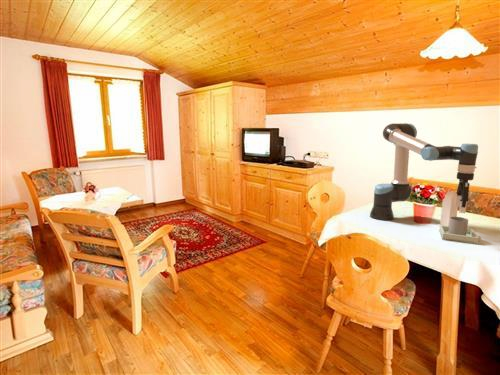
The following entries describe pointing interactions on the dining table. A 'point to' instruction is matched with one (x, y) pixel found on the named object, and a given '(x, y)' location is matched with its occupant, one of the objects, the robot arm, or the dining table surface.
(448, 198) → the milk
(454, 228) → the cup
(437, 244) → the dining table surface
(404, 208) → the dining table surface
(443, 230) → the bin
